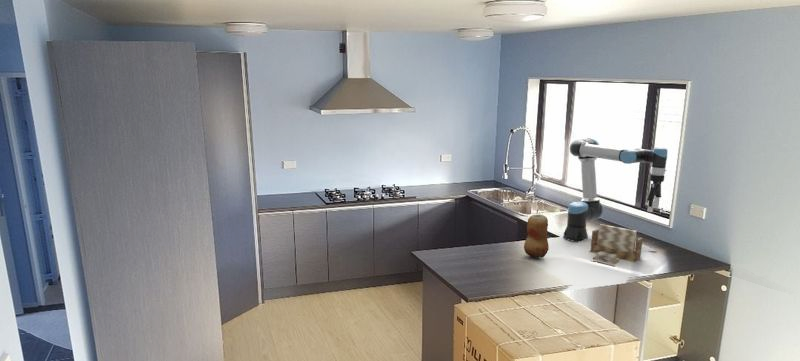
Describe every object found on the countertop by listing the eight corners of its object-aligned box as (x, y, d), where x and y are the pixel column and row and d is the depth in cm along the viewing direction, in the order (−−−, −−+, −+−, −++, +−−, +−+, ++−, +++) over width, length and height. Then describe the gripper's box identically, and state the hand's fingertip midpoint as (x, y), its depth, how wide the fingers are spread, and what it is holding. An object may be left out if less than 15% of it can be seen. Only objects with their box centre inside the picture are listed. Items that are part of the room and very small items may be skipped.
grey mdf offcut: (596, 257, 284) (596, 253, 284) (599, 255, 289) (600, 251, 288) (612, 261, 278) (613, 257, 278) (616, 259, 283) (616, 254, 283)
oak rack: (588, 254, 298) (590, 231, 296) (596, 249, 307) (598, 228, 305) (634, 264, 281) (637, 241, 279) (641, 259, 290) (644, 237, 288)
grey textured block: (592, 262, 286) (593, 257, 285) (597, 259, 291) (597, 254, 290) (614, 267, 278) (614, 262, 277) (618, 264, 283) (619, 259, 282)
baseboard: (638, 253, 303) (656, 253, 305) (638, 249, 303) (656, 248, 305) (609, 238, 333) (625, 238, 335) (609, 234, 333) (626, 234, 335)
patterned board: (596, 251, 300) (599, 224, 297) (598, 250, 302) (601, 224, 299) (632, 259, 287) (635, 231, 284) (633, 258, 288) (636, 230, 286)
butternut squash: (518, 257, 289) (521, 214, 285) (530, 252, 299) (533, 211, 295) (541, 263, 280) (544, 219, 276) (552, 257, 290) (555, 215, 285)
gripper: (659, 177, 283) (654, 214, 287) (669, 172, 302) (664, 207, 306) (644, 176, 288) (640, 212, 292) (655, 171, 307) (651, 205, 311)
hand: (652, 209), depth 299 cm, fingers open, 13 cm apart
